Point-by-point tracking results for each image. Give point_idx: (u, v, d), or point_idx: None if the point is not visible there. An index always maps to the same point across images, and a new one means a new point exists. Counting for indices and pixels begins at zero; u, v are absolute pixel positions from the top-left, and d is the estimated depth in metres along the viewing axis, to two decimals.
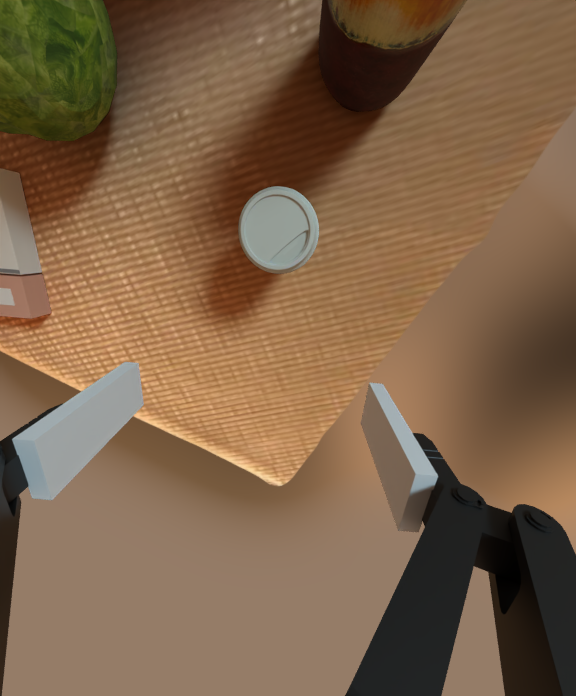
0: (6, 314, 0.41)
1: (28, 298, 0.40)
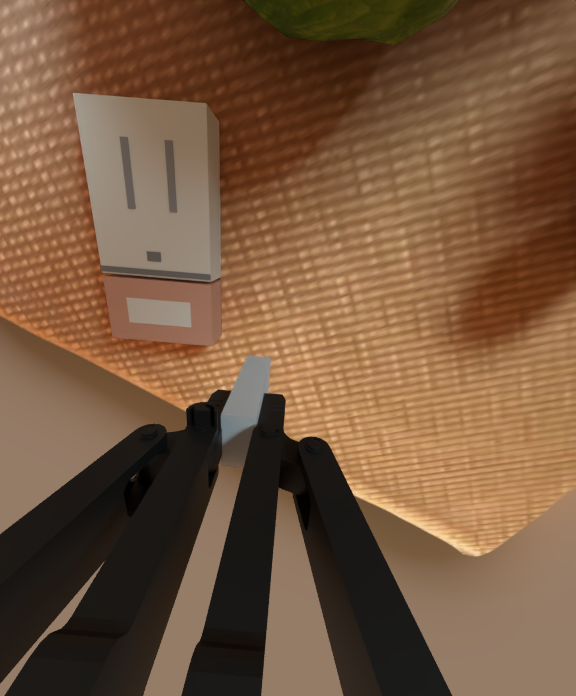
0: (176, 339, 0.27)
1: (212, 317, 0.27)
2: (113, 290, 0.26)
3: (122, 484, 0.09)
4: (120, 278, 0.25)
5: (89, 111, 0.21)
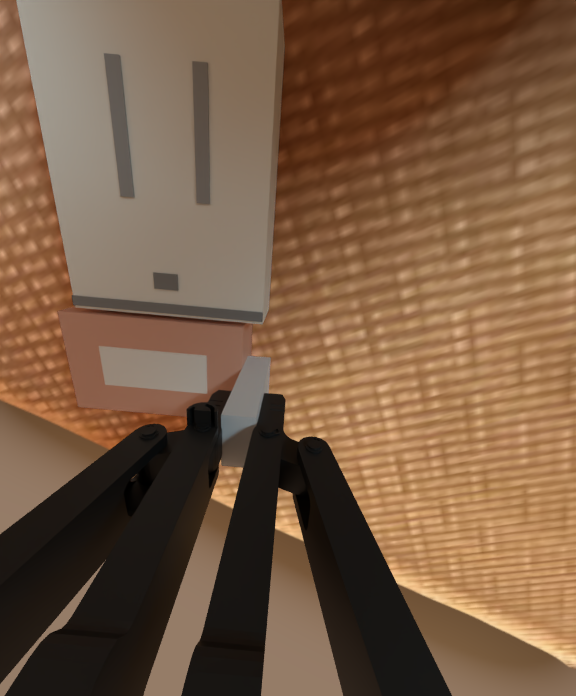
0: (181, 411, 0.17)
1: None
2: (76, 334, 0.15)
3: (123, 485, 0.09)
4: (88, 315, 0.15)
5: (43, 0, 0.10)
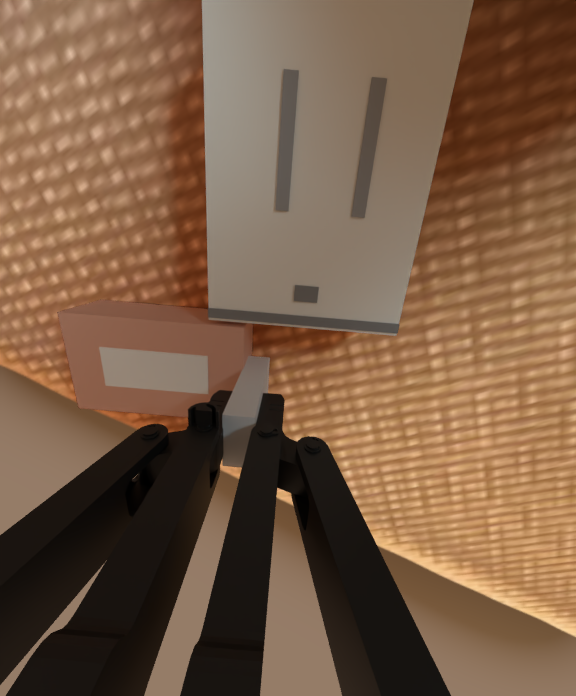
0: (182, 412, 0.17)
1: None
2: (76, 335, 0.15)
3: (124, 485, 0.09)
4: (88, 316, 0.15)
5: (230, 16, 0.10)
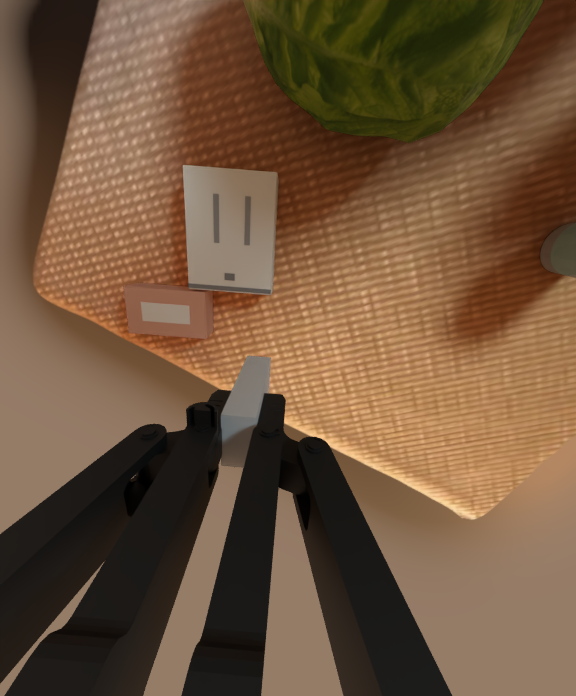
0: (178, 334, 0.36)
1: (206, 316, 0.35)
2: (130, 296, 0.34)
3: (123, 484, 0.09)
4: (136, 287, 0.34)
5: (193, 176, 0.30)
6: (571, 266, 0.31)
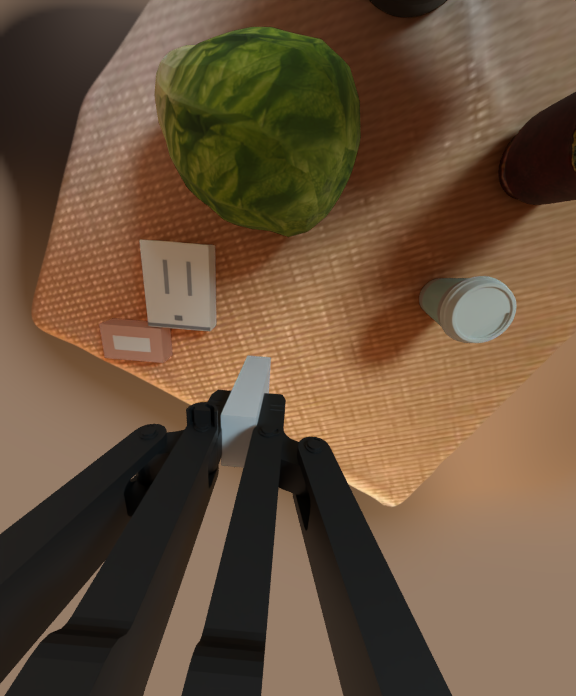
0: (142, 359, 0.47)
1: (162, 346, 0.46)
2: (105, 331, 0.45)
3: (122, 484, 0.09)
4: (109, 325, 0.45)
5: (147, 247, 0.40)
6: (430, 314, 0.41)
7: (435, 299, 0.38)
